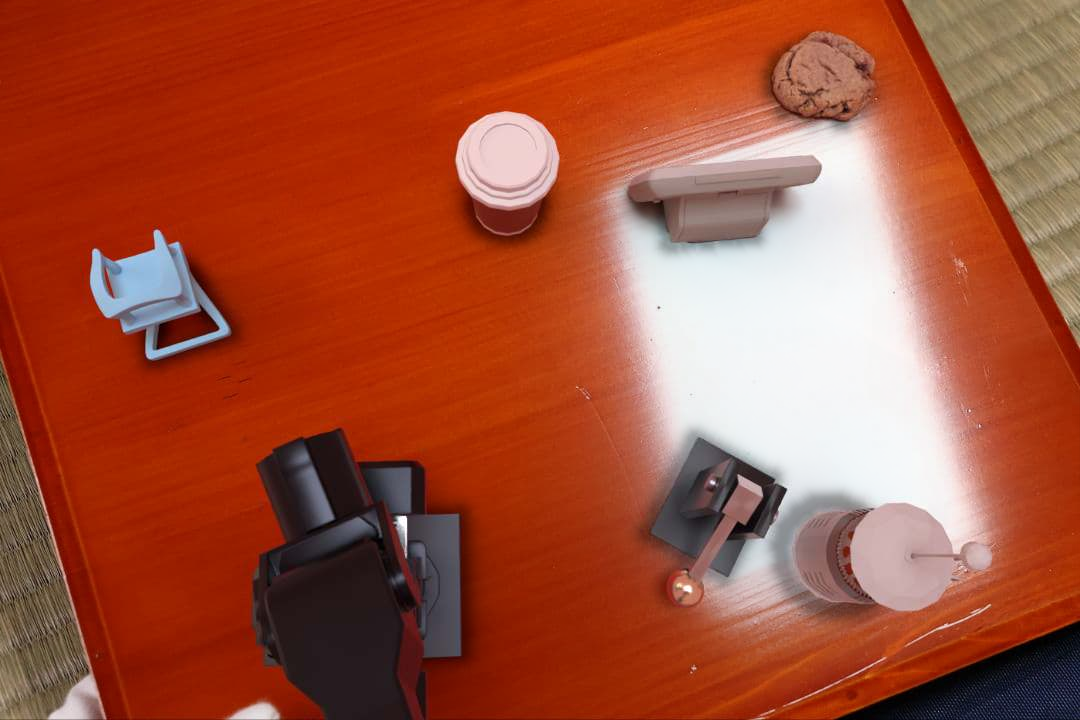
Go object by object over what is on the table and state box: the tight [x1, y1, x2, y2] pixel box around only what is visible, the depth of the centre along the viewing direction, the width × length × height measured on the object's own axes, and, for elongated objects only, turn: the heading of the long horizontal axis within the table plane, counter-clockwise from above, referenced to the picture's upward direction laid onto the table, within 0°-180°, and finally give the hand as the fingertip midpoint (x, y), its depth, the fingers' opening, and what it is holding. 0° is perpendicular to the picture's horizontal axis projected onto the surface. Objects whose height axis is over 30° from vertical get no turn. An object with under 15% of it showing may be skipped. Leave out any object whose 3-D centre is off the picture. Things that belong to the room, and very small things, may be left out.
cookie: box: [770, 30, 876, 121], centre depth 88 cm, size 10×11×3 cm
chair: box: [89, 229, 232, 361], centre depth 76 cm, size 8×8×12 cm
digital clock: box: [627, 154, 823, 244], centre depth 81 cm, size 16×9×11 cm, turn 85°
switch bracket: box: [648, 436, 788, 578], centre depth 74 cm, size 10×8×12 cm
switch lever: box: [666, 475, 763, 609], centre depth 71 cm, size 12×3×3 cm, turn 151°
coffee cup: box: [454, 110, 561, 237], centre depth 79 cm, size 9×9×12 cm
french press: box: [791, 502, 994, 612], centre depth 67 cm, size 10×12×25 cm
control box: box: [391, 513, 463, 659], centre depth 75 cm, size 12×10×4 cm
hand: (396, 588), depth 70 cm, fingers closed
